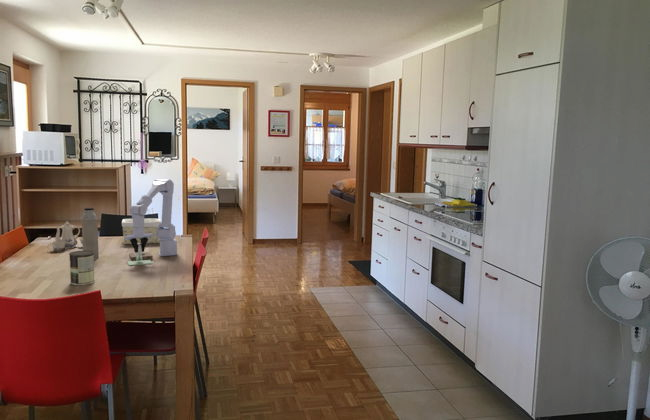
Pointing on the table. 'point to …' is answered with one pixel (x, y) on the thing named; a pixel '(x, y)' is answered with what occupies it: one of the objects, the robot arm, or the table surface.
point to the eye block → (144, 256)
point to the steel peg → (139, 252)
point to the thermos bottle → (90, 232)
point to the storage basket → (149, 228)
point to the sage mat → (139, 262)
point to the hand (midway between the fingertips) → (139, 251)
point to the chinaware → (65, 238)
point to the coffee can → (82, 267)
